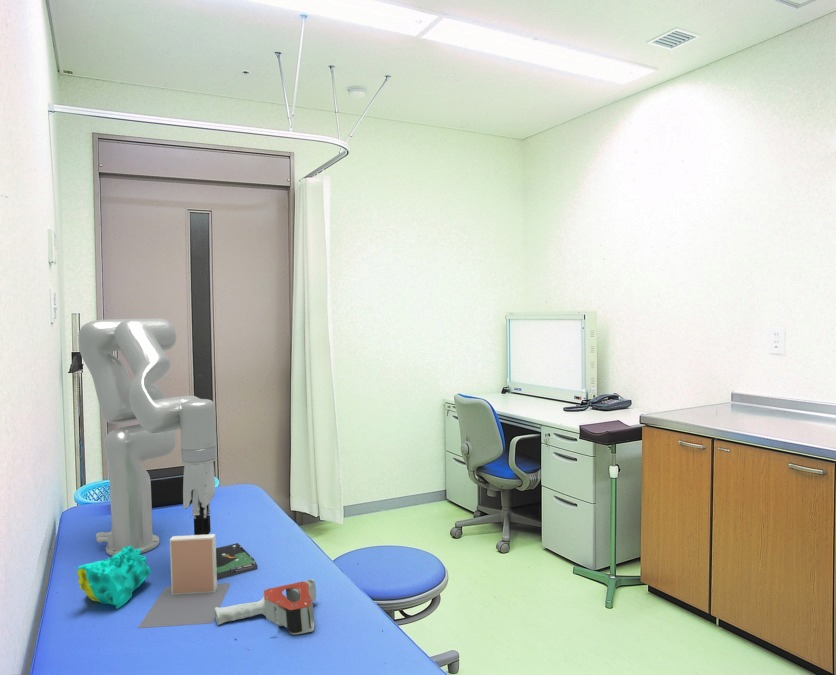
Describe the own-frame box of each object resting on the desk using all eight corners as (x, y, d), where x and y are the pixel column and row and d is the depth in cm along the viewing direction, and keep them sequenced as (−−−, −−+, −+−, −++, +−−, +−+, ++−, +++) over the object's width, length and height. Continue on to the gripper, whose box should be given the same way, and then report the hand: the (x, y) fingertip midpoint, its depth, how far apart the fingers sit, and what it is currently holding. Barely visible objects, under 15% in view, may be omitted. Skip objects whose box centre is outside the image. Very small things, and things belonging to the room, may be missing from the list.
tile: (171, 595, 128) (169, 540, 127) (174, 590, 130) (172, 536, 129) (214, 592, 129) (213, 537, 128) (217, 587, 131) (215, 534, 130)
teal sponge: (60, 567, 128) (118, 524, 136) (93, 609, 131) (147, 565, 139) (74, 577, 117) (135, 530, 125) (110, 623, 119) (168, 575, 127)
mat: (137, 631, 115) (137, 628, 115) (165, 589, 132) (165, 586, 132) (212, 626, 116) (212, 623, 116) (230, 585, 133) (230, 582, 133)
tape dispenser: (207, 631, 117) (281, 655, 106) (204, 604, 117) (278, 626, 106) (273, 590, 132) (344, 608, 121) (271, 566, 131) (341, 582, 121)
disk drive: (196, 563, 146) (214, 585, 134) (195, 552, 146) (213, 573, 134) (238, 553, 152) (258, 573, 140) (237, 542, 152) (258, 561, 140)
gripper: (191, 447, 142) (194, 523, 143) (172, 463, 127) (175, 548, 128) (223, 446, 143) (226, 521, 144) (208, 461, 128) (211, 545, 129)
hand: (202, 533), depth 136 cm, fingers closed
